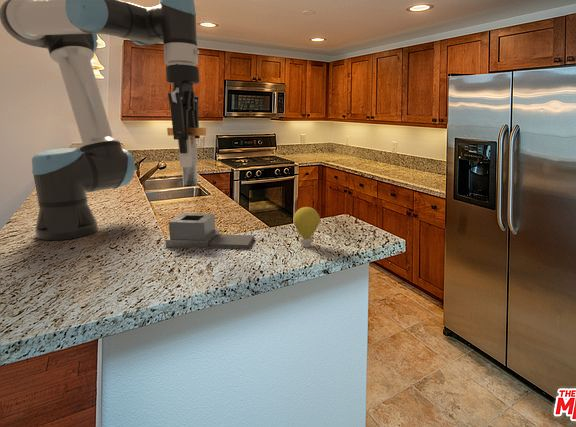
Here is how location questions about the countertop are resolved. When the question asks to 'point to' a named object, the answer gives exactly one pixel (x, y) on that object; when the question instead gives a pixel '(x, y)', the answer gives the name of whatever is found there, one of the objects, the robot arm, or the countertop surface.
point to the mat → (232, 241)
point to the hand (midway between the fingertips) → (189, 165)
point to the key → (191, 172)
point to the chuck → (192, 231)
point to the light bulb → (306, 224)
